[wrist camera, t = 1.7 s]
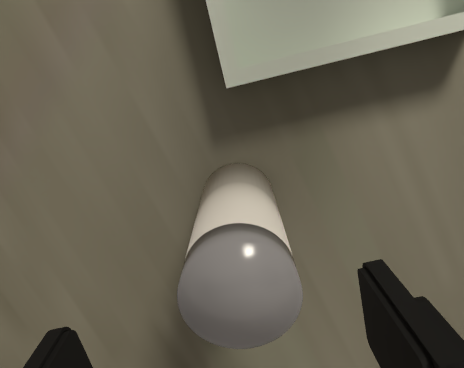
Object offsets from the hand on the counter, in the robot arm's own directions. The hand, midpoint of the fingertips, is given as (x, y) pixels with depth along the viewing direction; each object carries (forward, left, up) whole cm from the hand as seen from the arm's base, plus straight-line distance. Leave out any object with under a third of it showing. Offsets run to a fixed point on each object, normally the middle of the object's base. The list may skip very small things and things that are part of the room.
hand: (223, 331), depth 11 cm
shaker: (-1, 0, -12) cm, 12 cm away
